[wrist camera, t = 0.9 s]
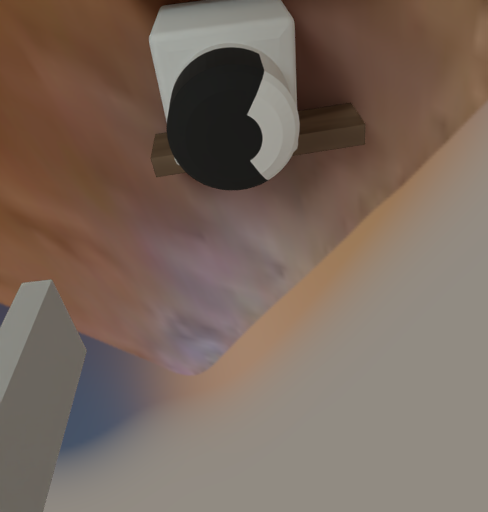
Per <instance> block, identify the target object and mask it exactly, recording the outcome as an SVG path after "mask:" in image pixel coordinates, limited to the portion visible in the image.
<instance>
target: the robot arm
mask: <svg viewBox="0 0 488 512" xmlns="http://www.w3.org/2000/svg"><path fill="white" fill-rule="evenodd" d="M86 352H87V350H86V348H85V346H84V344H83V342H82V340H81V338H80V336H79V334H78V332H77V330H76V328H75V326H74V324H73V322H72V320H71V318H70V315H69V313H68V311H67V309H66V307H65V305H64V303H63V301H62V299H61V297H60V295H59V293H58V291H57V289H56V287H55V285H54V283H53V281H52V280H43V281H35V282H27V283H22V284H21V286H20V288H19V290H18V292H17V294H16V296H15V299H14V301H13V303H12V305H11V307H10V309H9V311H8V313H7V315H6V317H5V319H4V321H3V324H2V325H1V327H0V512H43V510H44V505H45V502H46V499H47V495H48V491H49V487H50V484H51V480H52V476H53V473H54V469H55V465H56V461H57V458H58V455H59V451H60V447H61V443H62V440H63V436H64V433H65V429H66V425H67V421H68V418H69V414H70V410H71V407H72V403H73V399H74V396H75V392H76V388H77V385H78V381H79V377H80V373H81V370H82V366H83V362H84V359H85V355H86Z"/></svg>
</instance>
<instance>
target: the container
mask: <svg viewBox="0 0 488 512" xmlns="http://www.w3.org/2000/svg"><path fill="white" fill-rule="evenodd" d="M149 44H150V49H151V53H152V58H153V63H154V67H155V72H156V76H157V81H158V85H159V90H160V95H161V99H162V104H163V108H164V113H165V117H166V122H167V138H168V142H169V146H170V149H171V151H172V154H173V156H174V158H175V161H176V163H177V164H178V165H180V166H181V168H182V169H183V170H184V171H185V172H186V173H187V174H188V175H190V176H191V177H192V178H194V179H195V180H197V181H199V182H200V183H202V184H204V185H207V186H210V187H213V188H217V189H222V190H242V189H248V188H252V187H255V186H257V185H260V184H262V183H264V182H266V181H268V180H269V179H271V178H272V177H274V176H275V175H276V174H277V173H279V172H280V171H281V170H282V169H283V168H284V166H285V165H286V164H287V163H288V161H289V160H290V158H291V157H292V155H293V153H294V151H296V149H297V147H298V137H299V128H300V122H299V115H298V111H297V88H296V54H295V23H294V19H293V18H292V16H291V14H290V13H289V11H288V10H287V8H286V7H285V5H284V4H283V2H282V1H281V0H202V1H194V2H187V3H179V4H171V5H164V6H162V7H161V8H160V9H159V12H158V15H157V17H156V20H155V23H154V25H153V28H152V31H151V34H150V36H149Z"/></svg>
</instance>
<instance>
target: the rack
mask: <svg viewBox="0 0 488 512" xmlns="http://www.w3.org/2000/svg"><path fill="white" fill-rule="evenodd" d="M298 115H299V122H300V128H299V137H298V147H297V149H296V151H294V153H293V155H292V156H294V155H301V154H307V153H313V152H320V151H326V150H332V149H339V148H345V147H351V146H358V145H364V144H365V123H364V121H363V120H362V118H361V117H360V115H359V114H358V112H357V111H356V109H355V108H354V107H353V105H352V104H351V103H347V104H340V105H334V106H328V107H322V108H316V109H309V110H303V111H298ZM151 161H152V165H153V168H154V171H155V175H156V177H161V176H167V175H174V174H180V173H186V172H185V171H184V170H183V169H182V168H181V166H180V165H178V164H177V163H176V161H175V158H174V156H173V154H172V151H171V149H170V146H169V142H168V138H167V133H161V134H155V139H154V144H153V149H152V154H151Z"/></svg>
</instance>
